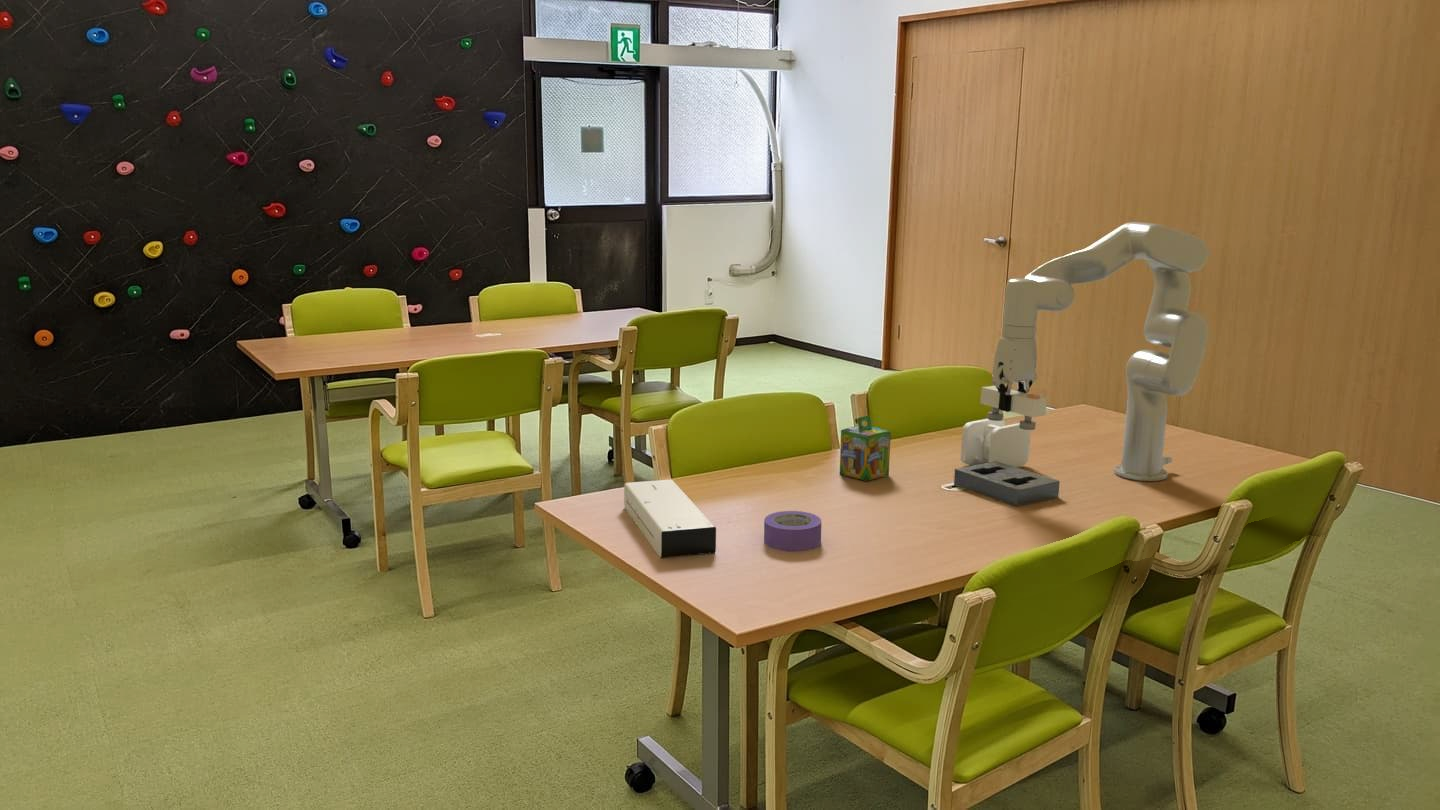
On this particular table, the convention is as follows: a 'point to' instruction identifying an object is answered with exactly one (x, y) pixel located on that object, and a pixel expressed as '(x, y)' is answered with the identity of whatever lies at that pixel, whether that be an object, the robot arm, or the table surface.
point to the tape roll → (792, 531)
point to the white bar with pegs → (1015, 405)
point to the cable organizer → (994, 443)
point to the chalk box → (865, 451)
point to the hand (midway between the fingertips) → (1012, 408)
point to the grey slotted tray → (1006, 483)
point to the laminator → (669, 519)
